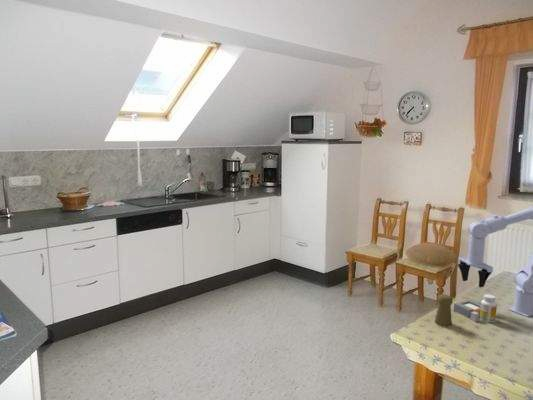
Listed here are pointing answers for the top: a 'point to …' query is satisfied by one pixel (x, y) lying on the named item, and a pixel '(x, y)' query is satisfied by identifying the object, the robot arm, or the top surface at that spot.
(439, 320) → the cork
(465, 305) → the orange-ended white block
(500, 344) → the top surface
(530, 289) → the robot arm
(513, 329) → the top surface
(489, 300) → the supplement bottle
